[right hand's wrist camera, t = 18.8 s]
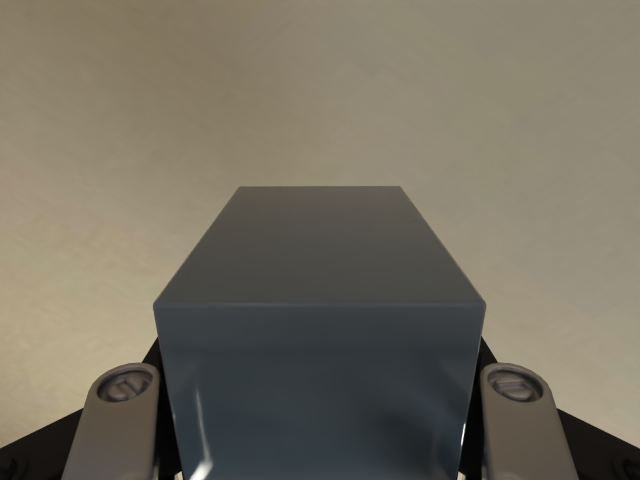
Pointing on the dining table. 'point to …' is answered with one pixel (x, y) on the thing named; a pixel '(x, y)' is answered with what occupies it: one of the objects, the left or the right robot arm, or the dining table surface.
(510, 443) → the right robot arm
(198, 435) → the block
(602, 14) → the dining table surface
